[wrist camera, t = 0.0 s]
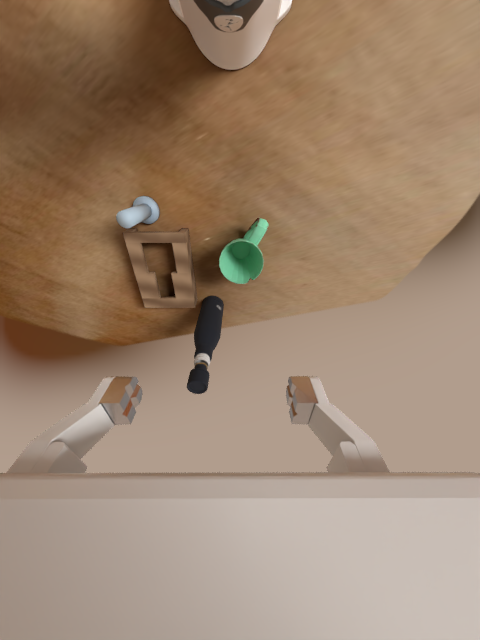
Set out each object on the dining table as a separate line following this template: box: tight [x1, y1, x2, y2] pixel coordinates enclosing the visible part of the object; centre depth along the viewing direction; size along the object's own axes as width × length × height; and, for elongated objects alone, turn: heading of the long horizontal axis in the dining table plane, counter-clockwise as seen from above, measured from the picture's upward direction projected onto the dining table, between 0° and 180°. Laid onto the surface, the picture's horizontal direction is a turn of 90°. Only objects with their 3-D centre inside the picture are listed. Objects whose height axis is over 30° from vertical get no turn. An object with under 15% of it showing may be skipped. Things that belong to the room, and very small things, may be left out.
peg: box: [116, 196, 160, 228], centre depth 45 cm, size 6×6×12 cm
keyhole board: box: [123, 228, 197, 308], centre depth 56 cm, size 20×14×4 cm
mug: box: [219, 218, 268, 284], centre depth 50 cm, size 15×10×10 cm
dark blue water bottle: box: [187, 296, 224, 394], centre depth 52 cm, size 6×6×30 cm
